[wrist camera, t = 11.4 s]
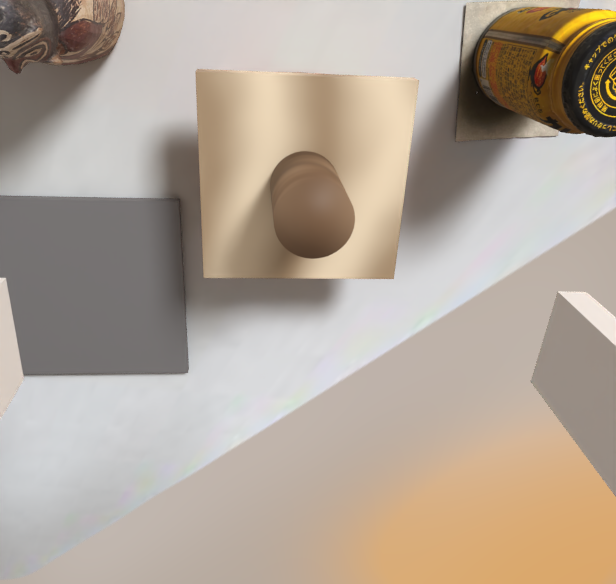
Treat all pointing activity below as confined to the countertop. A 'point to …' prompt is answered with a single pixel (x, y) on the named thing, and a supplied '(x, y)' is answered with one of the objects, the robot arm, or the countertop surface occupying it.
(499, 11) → the condiment
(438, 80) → the countertop surface
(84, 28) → the figurine
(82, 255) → the mat
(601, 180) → the countertop surface
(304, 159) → the lid
